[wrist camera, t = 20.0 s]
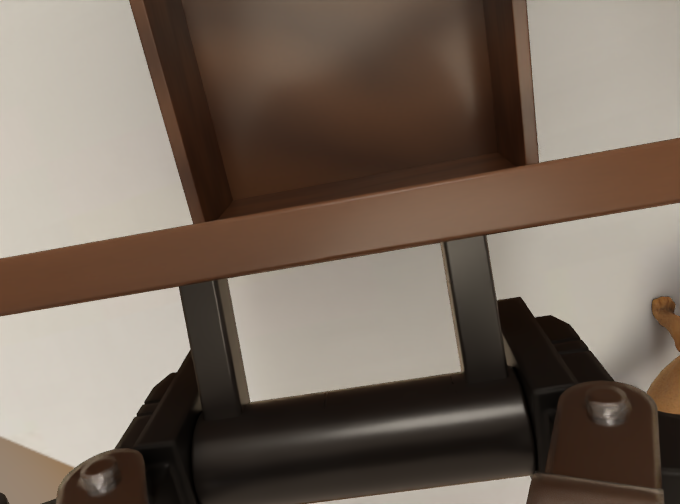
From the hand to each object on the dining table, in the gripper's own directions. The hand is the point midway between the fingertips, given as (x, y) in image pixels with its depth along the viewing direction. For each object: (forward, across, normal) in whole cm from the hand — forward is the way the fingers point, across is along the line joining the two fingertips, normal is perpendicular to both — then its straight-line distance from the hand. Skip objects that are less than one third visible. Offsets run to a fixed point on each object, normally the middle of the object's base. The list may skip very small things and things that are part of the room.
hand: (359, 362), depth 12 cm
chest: (+20, 0, -8) cm, 22 cm away
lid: (+5, 0, -2) cm, 5 cm away
